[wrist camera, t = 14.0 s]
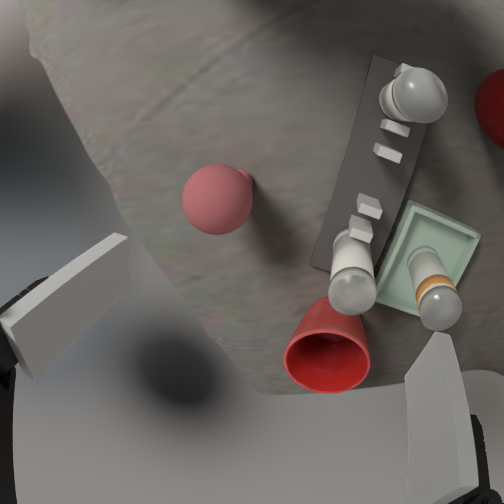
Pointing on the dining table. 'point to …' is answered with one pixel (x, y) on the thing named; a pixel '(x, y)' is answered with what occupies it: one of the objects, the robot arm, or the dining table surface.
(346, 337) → the flower pot
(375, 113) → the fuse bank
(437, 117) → the white rounded cylinder
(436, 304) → the cylinder
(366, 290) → the fuse
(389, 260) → the tray
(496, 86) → the apple
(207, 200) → the light bulb
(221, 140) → the dining table surface
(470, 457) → the robot arm
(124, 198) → the dining table surface
